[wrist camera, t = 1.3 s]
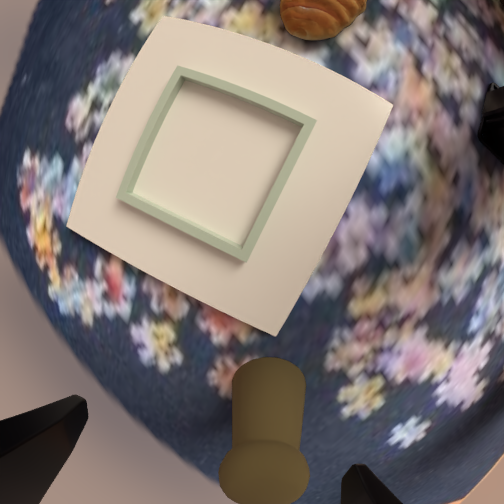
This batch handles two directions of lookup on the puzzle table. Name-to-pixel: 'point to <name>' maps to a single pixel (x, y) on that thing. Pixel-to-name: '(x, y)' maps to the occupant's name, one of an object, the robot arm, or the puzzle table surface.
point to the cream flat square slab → (226, 167)
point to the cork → (266, 434)
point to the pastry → (319, 17)
